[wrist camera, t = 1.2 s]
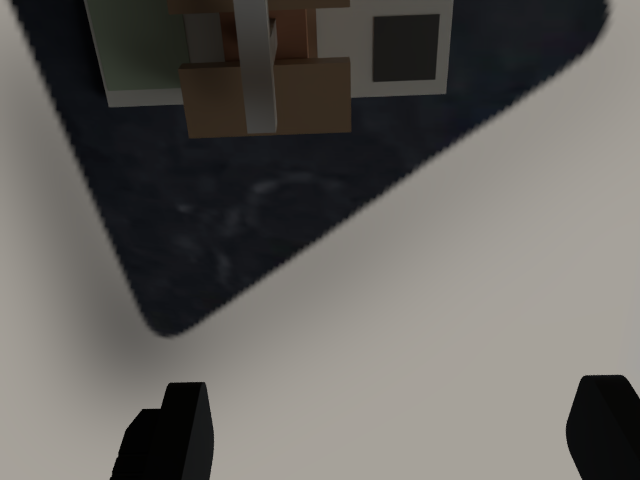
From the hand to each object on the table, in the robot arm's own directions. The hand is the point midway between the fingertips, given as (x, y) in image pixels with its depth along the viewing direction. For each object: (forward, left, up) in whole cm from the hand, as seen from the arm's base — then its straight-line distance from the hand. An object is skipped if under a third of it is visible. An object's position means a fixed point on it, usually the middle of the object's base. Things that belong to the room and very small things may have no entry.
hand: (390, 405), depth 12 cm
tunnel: (-4, -4, -26) cm, 27 cm away
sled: (-4, -4, -25) cm, 25 cm away
